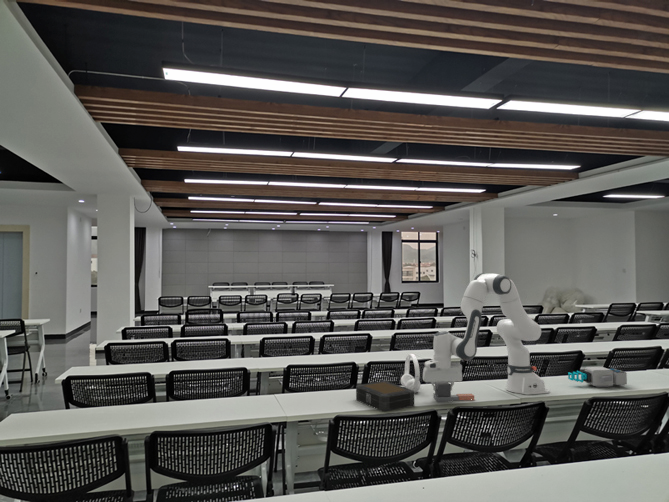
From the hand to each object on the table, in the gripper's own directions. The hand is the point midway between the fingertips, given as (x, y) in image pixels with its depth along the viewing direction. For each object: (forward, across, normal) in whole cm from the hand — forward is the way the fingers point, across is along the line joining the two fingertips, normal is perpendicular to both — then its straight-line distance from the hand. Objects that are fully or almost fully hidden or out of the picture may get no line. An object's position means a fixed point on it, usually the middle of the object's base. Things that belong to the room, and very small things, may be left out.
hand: (442, 390), depth 238 cm
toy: (+5, -96, -21) cm, 98 cm away
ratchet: (+5, -6, 0) cm, 8 cm away
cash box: (+5, +31, +2) cm, 32 cm away
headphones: (+5, +12, -21) cm, 25 cm away
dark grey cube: (+2, 0, 0) cm, 2 cm away
